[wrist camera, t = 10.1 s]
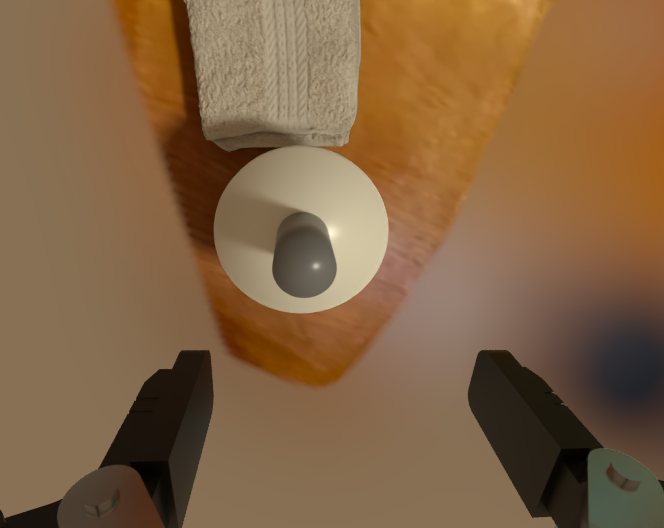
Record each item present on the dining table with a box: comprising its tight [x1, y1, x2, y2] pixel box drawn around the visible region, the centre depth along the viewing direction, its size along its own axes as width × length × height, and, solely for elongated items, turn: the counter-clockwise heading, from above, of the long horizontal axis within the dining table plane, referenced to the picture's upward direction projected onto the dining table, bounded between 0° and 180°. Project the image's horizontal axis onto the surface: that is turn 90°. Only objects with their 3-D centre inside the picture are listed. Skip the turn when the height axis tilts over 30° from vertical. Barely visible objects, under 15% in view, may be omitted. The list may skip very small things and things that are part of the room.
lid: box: [214, 145, 388, 313], centre depth 24 cm, size 12×12×7 cm
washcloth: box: [184, 0, 361, 153], centre depth 26 cm, size 12×18×3 cm, turn 2°
